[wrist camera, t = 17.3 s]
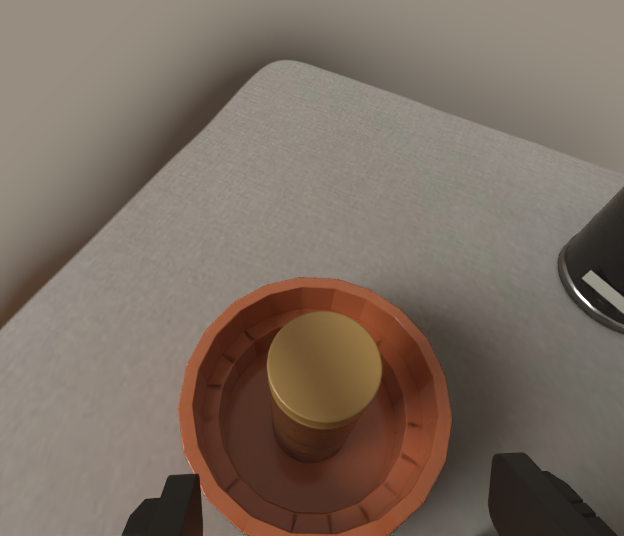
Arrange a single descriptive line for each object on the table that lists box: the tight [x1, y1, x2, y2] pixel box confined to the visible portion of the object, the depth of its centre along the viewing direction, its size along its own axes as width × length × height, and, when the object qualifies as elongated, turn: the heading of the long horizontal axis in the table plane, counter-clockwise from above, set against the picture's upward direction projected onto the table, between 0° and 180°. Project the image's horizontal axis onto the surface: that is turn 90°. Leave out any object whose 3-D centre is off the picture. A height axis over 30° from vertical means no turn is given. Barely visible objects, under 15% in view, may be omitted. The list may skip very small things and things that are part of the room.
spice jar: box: [267, 311, 382, 463], centre depth 21 cm, size 5×5×10 cm
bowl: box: [178, 277, 452, 536], centre depth 23 cm, size 13×13×6 cm
